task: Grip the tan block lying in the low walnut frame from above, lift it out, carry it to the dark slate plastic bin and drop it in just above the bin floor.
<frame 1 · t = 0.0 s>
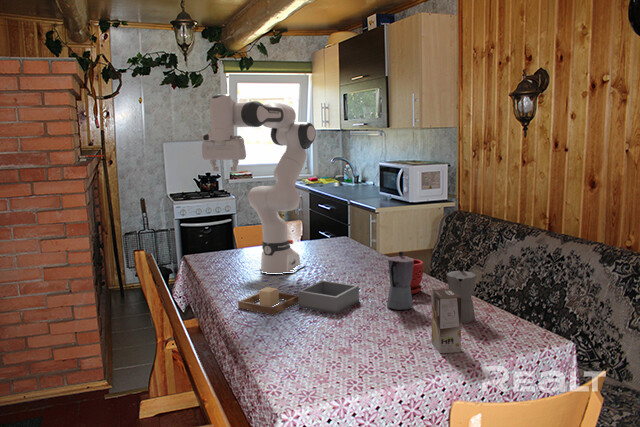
hand: (224, 171, 212), 48 cm above the table, tool pointing down, fingers open, 8 cm apart
moka pot: (400, 307, 191), on the table
plant pot: (406, 291, 210), on the table
tan block: (269, 297, 197), in the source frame
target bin: (329, 304, 196), on the table
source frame: (269, 305, 197), on the table
coffee box: (445, 347, 156), on the table
coffeepot: (460, 318, 179), on the table
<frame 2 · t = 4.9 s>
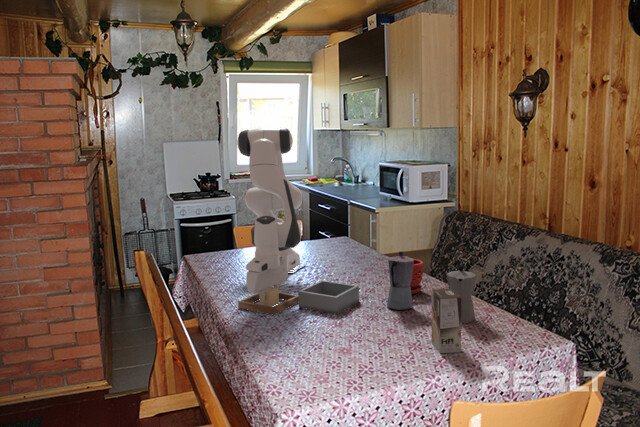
hand: (269, 298, 197), 3 cm above the table, tool pointing down, fingers closed on tan block, 5 cm apart
tan block: (269, 297, 197), in the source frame, touching gripper
everything else where it was.
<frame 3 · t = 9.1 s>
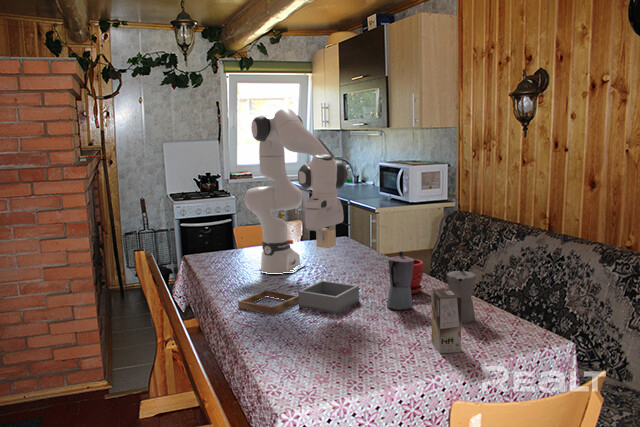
hand: (326, 238, 193), 24 cm above the table, tool pointing down, fingers closed on tan block, 5 cm apart
tan block: (326, 237, 193), point 25 cm above the table, touching gripper
everything else where it was.
when the fingers open (6 cm above the table, at t = 13.6 s): tan block drops 2 cm, resting on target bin.
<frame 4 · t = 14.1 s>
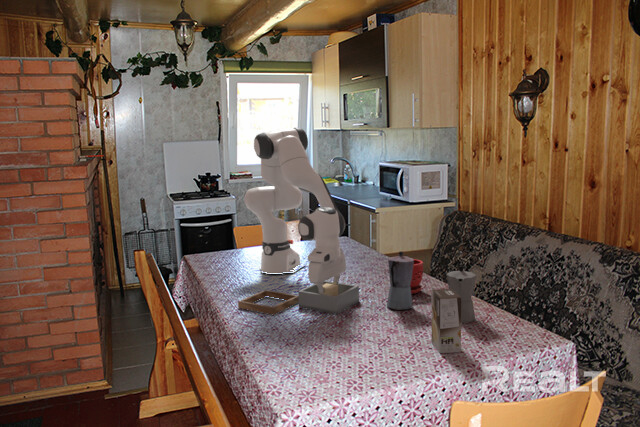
hand: (328, 289, 196), 6 cm above the table, tool pointing down, fingers open, 8 cm apart
tan block: (328, 293, 196), in the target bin, point 4 cm above the table
everything else where it was.
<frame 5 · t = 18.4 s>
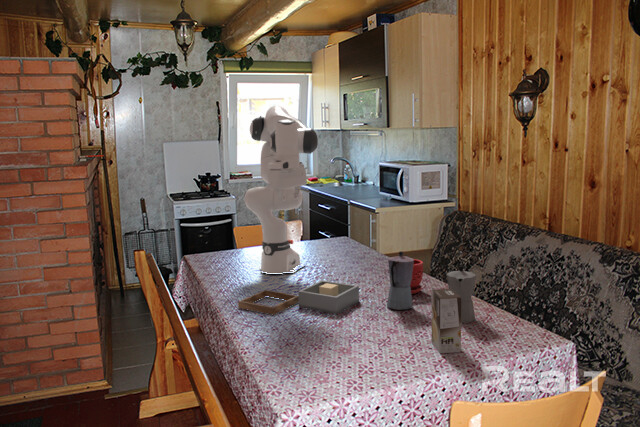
hand: (289, 199, 206), 37 cm above the table, tool pointing down, fingers open, 8 cm apart
nothing on the table moved.
at the end: tan block inside the target area on the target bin (0.0 cm from its centre), point 4.0 cm above the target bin's base; the gripper is holding nothing; tan block tilted 0° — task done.
